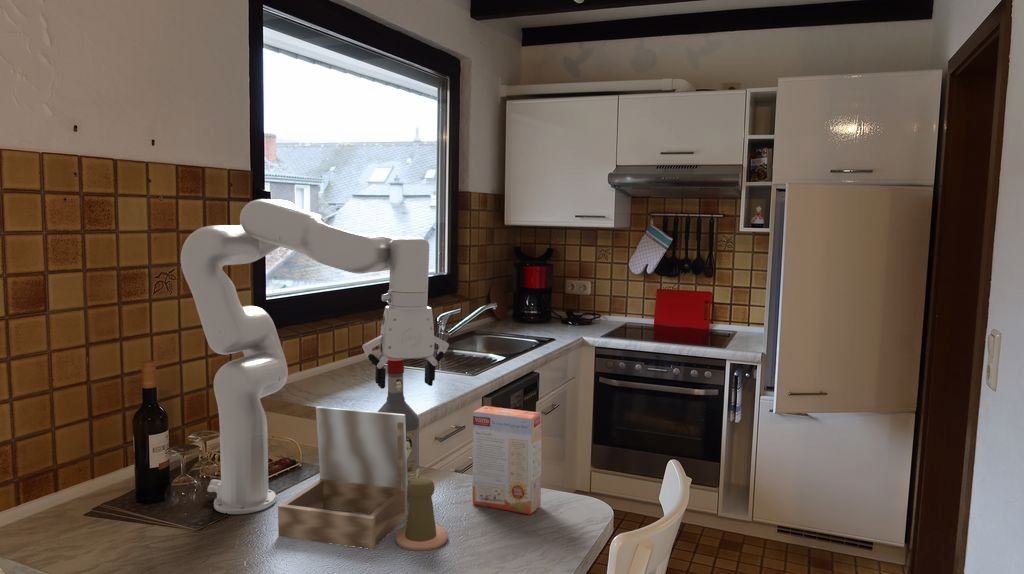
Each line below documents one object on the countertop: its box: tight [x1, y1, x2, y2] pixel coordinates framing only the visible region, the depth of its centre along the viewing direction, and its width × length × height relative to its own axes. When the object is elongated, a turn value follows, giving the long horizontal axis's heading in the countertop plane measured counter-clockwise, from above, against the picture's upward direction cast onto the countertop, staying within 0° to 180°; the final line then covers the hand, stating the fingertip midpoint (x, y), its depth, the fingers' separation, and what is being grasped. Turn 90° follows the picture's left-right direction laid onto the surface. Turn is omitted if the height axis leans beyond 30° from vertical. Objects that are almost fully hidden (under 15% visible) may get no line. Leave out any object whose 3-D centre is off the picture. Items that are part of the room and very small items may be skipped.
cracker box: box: [472, 405, 543, 515], centre depth 157 cm, size 14×6×21 cm, turn 65°
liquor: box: [377, 359, 420, 494], centre depth 166 cm, size 9×9×30 cm
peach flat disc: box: [395, 524, 449, 552], centre depth 141 cm, size 10×10×1 cm
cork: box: [405, 476, 436, 542], centre depth 140 cm, size 6×6×11 cm
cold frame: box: [277, 405, 408, 550], centre depth 145 cm, size 20×16×22 cm
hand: (405, 385), depth 144 cm, fingers open, 9 cm apart
